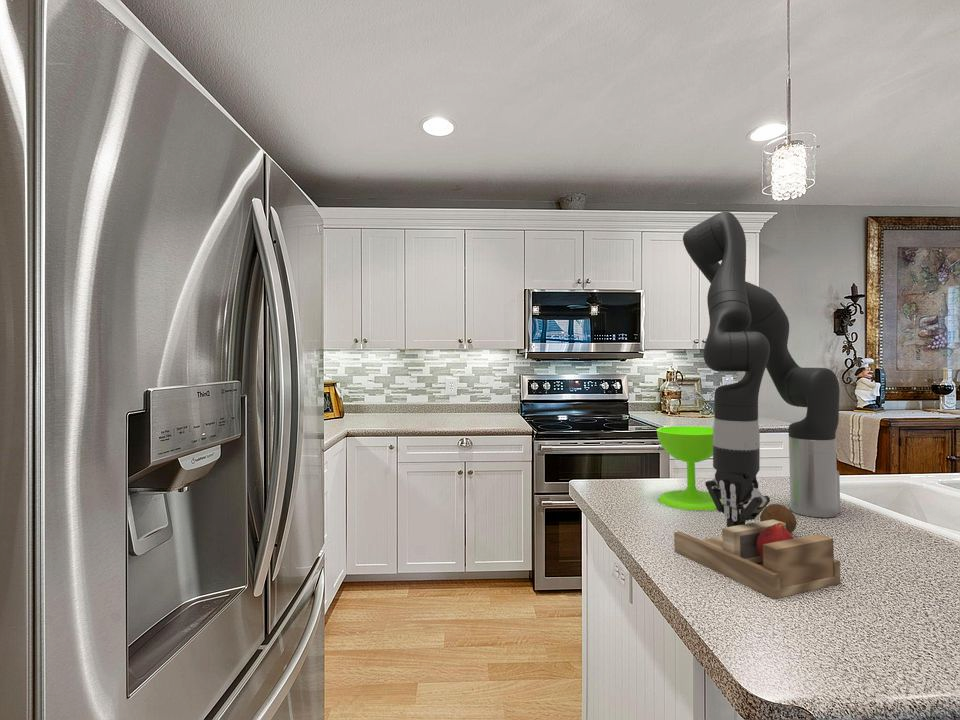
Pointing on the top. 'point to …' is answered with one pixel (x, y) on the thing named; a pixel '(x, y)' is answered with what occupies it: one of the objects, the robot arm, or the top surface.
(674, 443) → the wineglass
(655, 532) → the top surface
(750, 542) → the jaw
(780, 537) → the onion
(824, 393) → the robot arm
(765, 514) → the potato
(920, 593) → the top surface
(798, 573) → the vise base
